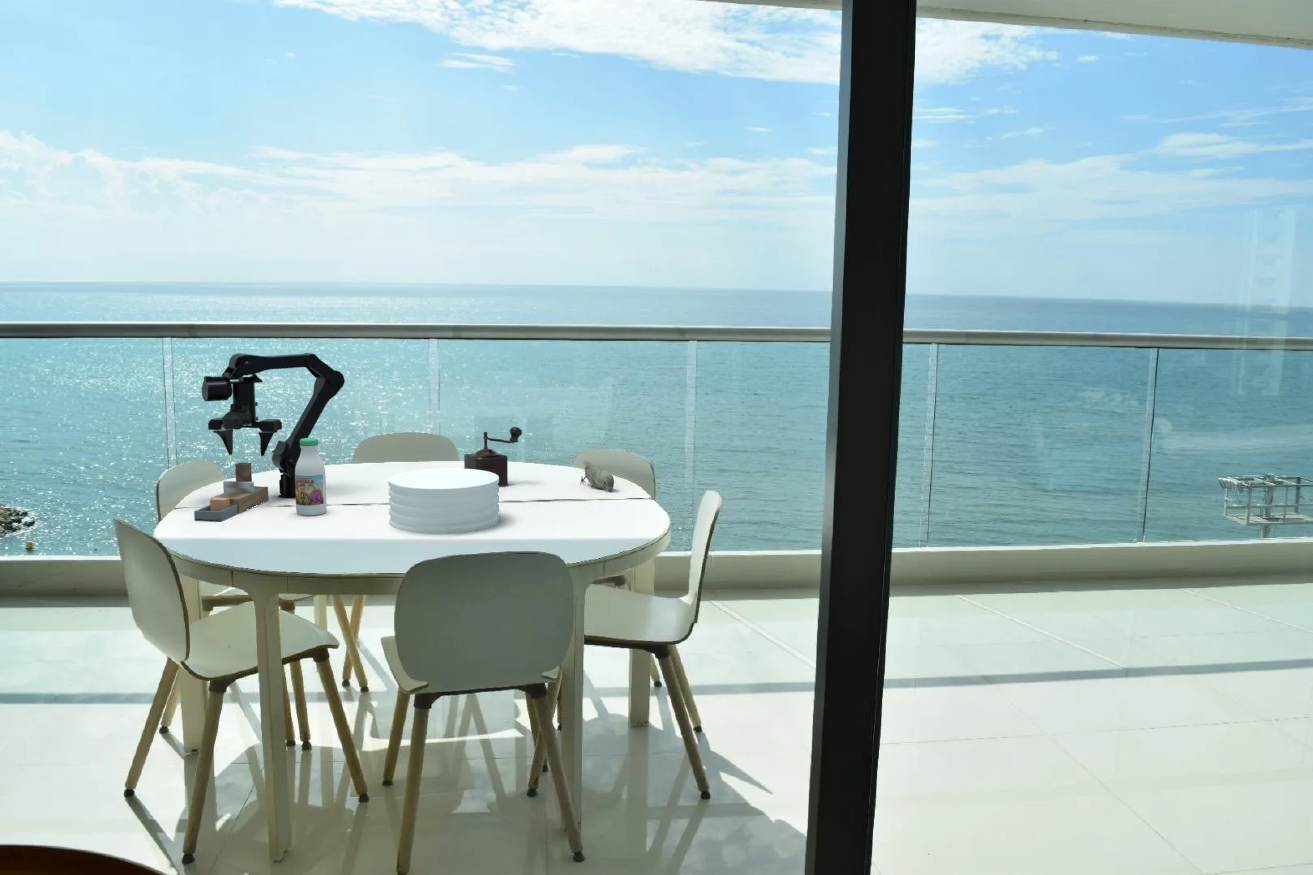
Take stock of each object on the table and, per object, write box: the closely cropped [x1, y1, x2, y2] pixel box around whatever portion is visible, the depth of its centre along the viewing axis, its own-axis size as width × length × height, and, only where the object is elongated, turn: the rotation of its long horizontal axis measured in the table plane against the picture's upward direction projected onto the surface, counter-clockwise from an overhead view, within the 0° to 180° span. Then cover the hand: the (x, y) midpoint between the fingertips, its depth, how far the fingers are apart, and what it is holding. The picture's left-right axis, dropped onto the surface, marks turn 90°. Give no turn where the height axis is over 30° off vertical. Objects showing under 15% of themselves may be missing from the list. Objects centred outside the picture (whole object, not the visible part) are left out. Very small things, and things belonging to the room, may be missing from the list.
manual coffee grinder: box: [463, 426, 523, 488], centre depth 306 cm, size 16×11×18 cm
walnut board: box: [210, 485, 270, 515], centre depth 271 cm, size 8×16×4 cm, turn 175°
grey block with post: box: [222, 462, 255, 494], centre depth 271 cm, size 8×5×8 cm, turn 85°
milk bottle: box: [295, 437, 328, 516], centre depth 263 cm, size 8×8×20 cm
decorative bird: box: [580, 460, 615, 493], centre depth 304 cm, size 5×16×7 cm, turn 33°
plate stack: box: [387, 467, 500, 535], centre depth 258 cm, size 28×28×12 cm
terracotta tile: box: [209, 497, 230, 511], centre depth 260 cm, size 4×4×2 cm
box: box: [193, 504, 239, 523], centre depth 258 cm, size 7×8×2 cm
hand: (246, 455), depth 276 cm, fingers open, 9 cm apart
